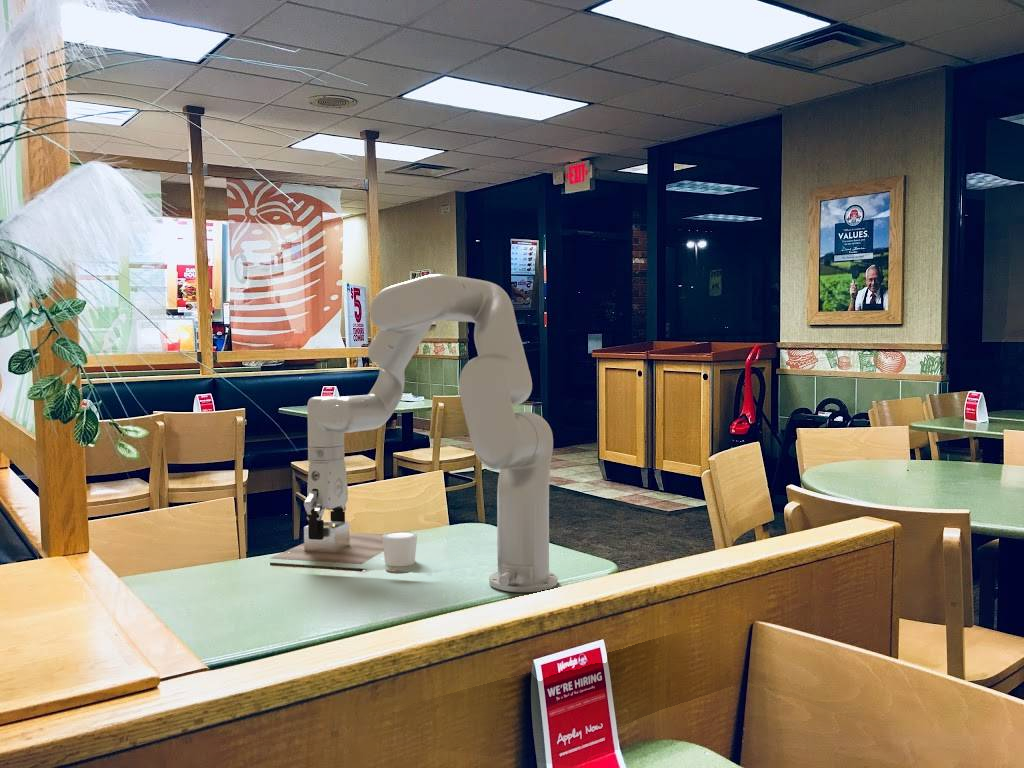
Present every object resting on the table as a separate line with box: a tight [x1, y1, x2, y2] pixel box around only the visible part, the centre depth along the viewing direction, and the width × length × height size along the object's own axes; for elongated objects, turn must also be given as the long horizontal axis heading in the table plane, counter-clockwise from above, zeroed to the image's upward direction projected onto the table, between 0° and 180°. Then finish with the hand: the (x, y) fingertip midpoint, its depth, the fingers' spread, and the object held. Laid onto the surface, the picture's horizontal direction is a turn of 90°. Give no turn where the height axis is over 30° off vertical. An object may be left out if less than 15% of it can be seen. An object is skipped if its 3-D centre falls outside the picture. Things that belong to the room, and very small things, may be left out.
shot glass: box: [382, 531, 418, 575], centre depth 156 cm, size 7×7×7 cm
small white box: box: [303, 520, 350, 552], centre depth 169 cm, size 7×7×5 cm
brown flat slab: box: [269, 532, 385, 572], centre depth 170 cm, size 26×20×2 cm
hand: (327, 534), depth 169 cm, fingers open, 9 cm apart
